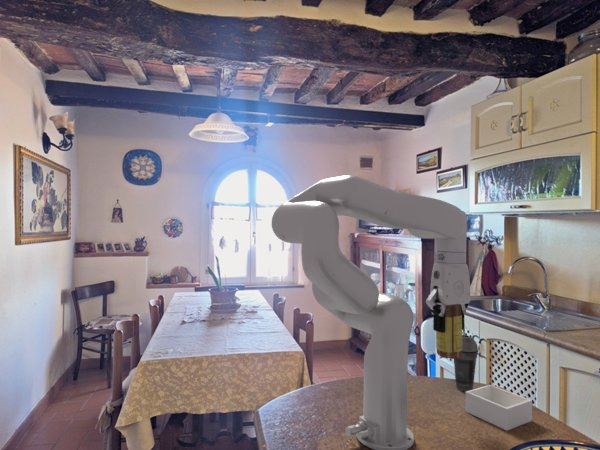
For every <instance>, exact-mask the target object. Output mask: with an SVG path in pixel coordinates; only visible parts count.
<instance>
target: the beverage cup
mask: <svg viewBox="0 0 600 450" xmlns="http://www.w3.org/2000/svg"><path fill="white" fill-rule="evenodd" d="M465 326H466V325H465V322H464V330H462V356H461V357H460V358H457V359H453V365H454V378H455V379H454V380H455V386H456V387H455V388H456V389H457V390H458V391H462V392H466V391H470V390H473V389H474V384H475V374H476V364H477V363H476V362H477V358H478V353H479V349H478V344H477V341H476V340H475V339H474V338H473V337H472V336H470V335H467V334H466V327H465Z"/></svg>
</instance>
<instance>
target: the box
mask: <svg viewBox="0 0 600 450" xmlns="http://www.w3.org/2000/svg"><path fill="white" fill-rule="evenodd" d="M464 392H465V391H464ZM464 400H465V401H464V402H465V403H464V405H465V408H464V411H465V412H466V413H468V414H470V415H472V416H475V417H476V418H479V419H481V420H483V421H485V422H487V423H489V424H492V425H494V426H496V427H498V428H500V429H502V430H505V431H509V430H513V429H515V428H517V427H519V426H523V425H525V424H527V423H530V422H532V421H533V400H532V399H529V398H528V397H525V396H521V395H519V394H517V393H513V392H511V391H508V390H506V389H503V388H501V387H499V386H498V387H497V386H496V385H492V384H488V385H484V386H480V387H477V388H475V389H474V388H473V390H470V391H466V392H465V399H464Z"/></svg>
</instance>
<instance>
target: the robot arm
mask: <svg viewBox="0 0 600 450" xmlns="http://www.w3.org/2000/svg"><path fill="white" fill-rule="evenodd" d="M272 215H273V216H272V217H271V229H272V231H273V234H274V235H275V236H276V238H278V239H279V240H281V241H283V242H284V243H290V244H297V245H299V244H300V245H301V255H300V256H301V264H302V270H303V273H304V275H305V277H306V278H307V279H308V281H310V282H311V283H312V284H311V290H312V295H313V297H314V299H315V301H316V302H317V304H318V305H320V306H321V307H322V308H324V309H325V310H326V311H327V312H329V313H330V314H332V315H333V316H334V317H336V318H337V319H339V320H340V321H341V322H343V323H344V324H346V325H347V326H349V327H351V328H352V329H355V330H358V331H362V332H363V333H367V334H369V335H371V338H370V341H369V342H368V344H367V346H366V348H365V351H364V355H363V403H362V411H363V413H362V415H361V416H359V417H358V419H359V420H358V422H356V423H355V424H352V425H348V426H346V427H345V429H344V432H345V434H346V436H347V437H353V436H355V437H356V439H357V440H358V441H359V442H360V443H361V444H362V445H363V446H365V447H367V448H370V449H372V450H408V449H410V448H411V447H412V446H413V445H414V444H415V435H414V433H413V431H412V430H411V429H410V428H409V427H408V422H407V421H408V366H409V363H408V362H409V345H410V340H411V335H412V330H413V326H414V325H413V324H414V312H413V309H412V307H411V306H410V304H409V303H408V301H406V300H405V299H403V298H401V297H399V296H396V295H393V294H388V293H383V292H380V290H379V287H378V286H377V284H376V282H375V281H374V280H373V279H372V278H371V277H370V275H368V274H367V273H366V272H365V271H363V270H362V269H361V268H360V267H358V265H356V264H355V263H354V262H352V261H351V260H350V259H349V258H348V257H347V256H346V255H345V254H344V253H343V252H342V251H341V248H340V241H339V240H340V238H339V237H340V235H339V233H340V221H339V217H338V216H340V217H341V216H343V217H350V218H354V219H357V220H360V221H364V222H367V223H371V224H373V225H377V226H380V227H383V228H389V229H395V230H398V229H399V230H407V231H408V233H409V234H410V235H412V236H413V237H415V238H418V239H429V240H431V239H432V240H433V239H434V255H433V258H434V261H433V262H434V263H433V267H432V270H431V277H430V294H429V295H428V296H427V298H426V300H425V303H426V305H427V307H428V309H429V310H430V312H431V315H433V316H432V317H433V321H432V322H433V325H432V326H433V327H432V328H433V331H435V332H436V331H438V332H441V333H444V332H445V316H443V315H444V312H445V309H446V306H452V305H456V304H460V305H461V314H462V331H463V330H464V323H465V314H466V313H467V308H468V307H469V304H470V303H471V301H472V297H471V296H472V295H471V278H470V271H469V266H468V264H467V231H468V230H467V229H468V228H467V227H468V226H467V224H468V217H467V213H466V212H465V211H464V210H462V209H460V208H459V207H458V206H456V205H454V204H452V203H449V202H447V201H445V200H441V199H437V198H434V197H429V196H424V195H417V194H413V193H408V192H404V191H398V190H396V189H395V190H394V189H392V188H390V187H387V186H384V185H381V184H379V183H377V182H374V181H371V180H367V179H366V178H363V177H360V176H357V175H353V174H352V175H351V174H349V175H348V174H347V175H341V176H334V177H329V178H325V179H321V180H319V181H317V182H315V183H314V184H313V185H311V186H309V187H308V188H306V189H304V190H303V191H301V192H299V193H298V194H296V195H294V196H293V197H291V198H290V199H288V200H286V201H285V202H283V203H282V204H281V205H279V206H278V207H277V208H276V210H274V213H273V214H272ZM439 301H440V302H441V303H439ZM438 305H439V306H441V308H440V309H439V308H438Z"/></svg>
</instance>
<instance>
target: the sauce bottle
mask: <svg viewBox="0 0 600 450" xmlns="http://www.w3.org/2000/svg"><path fill="white" fill-rule="evenodd" d="M439 303H441V302H440V301H439ZM438 308H439V309H440V308H441V306H439V305H438ZM443 316H445V332H444V333H441V332H438V331H435V344H436V345H435V348H436V354H437V355H438V356H440V357H442V358H445V359H453V360H454V359H457V358H460V357H461V356H462V335H463V330H462V314H461V305H460V304H456V305H452V306H446V309H445V312H444V315H443Z"/></svg>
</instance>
